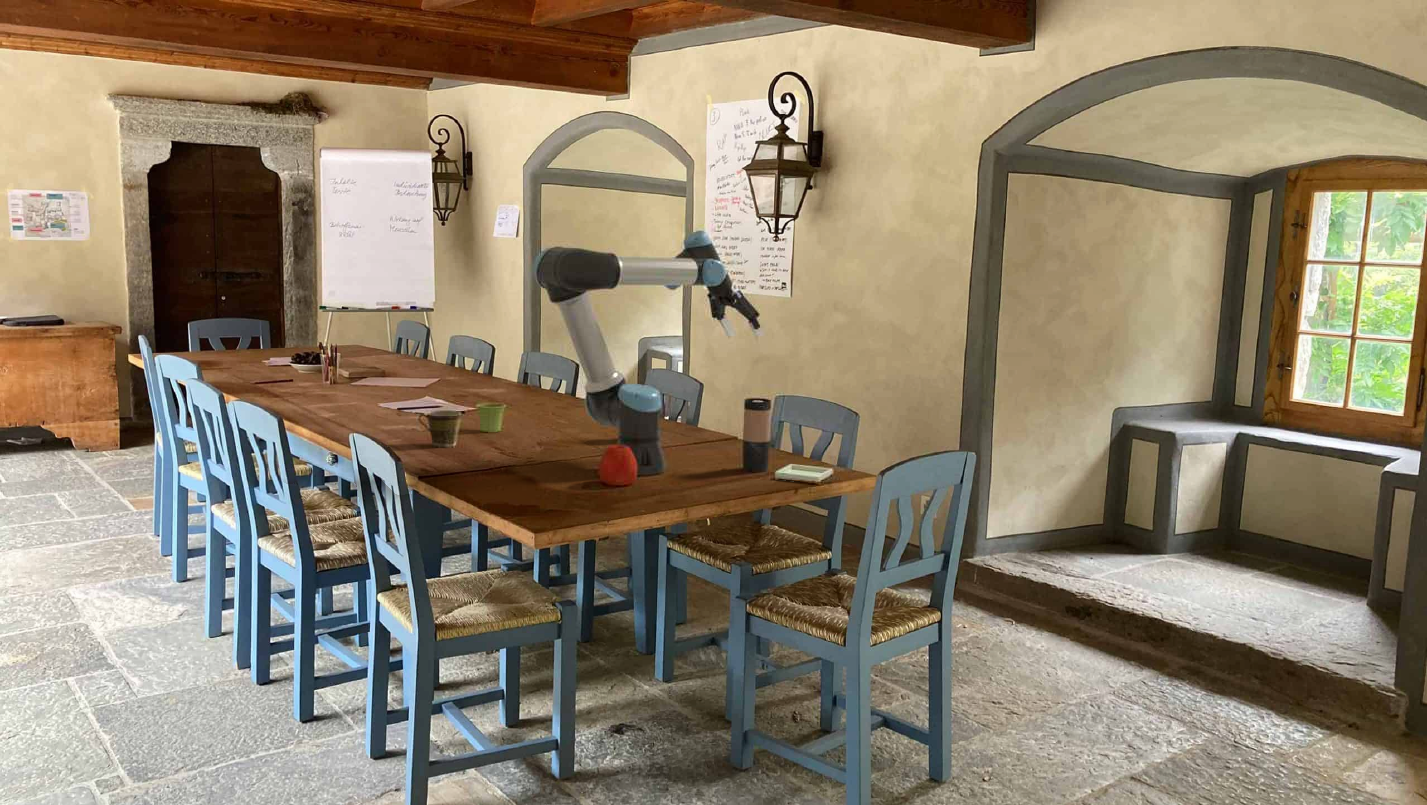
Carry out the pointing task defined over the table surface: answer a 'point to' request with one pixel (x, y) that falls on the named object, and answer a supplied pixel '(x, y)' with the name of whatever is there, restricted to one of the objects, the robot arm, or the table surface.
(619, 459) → the apple
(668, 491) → the table surface
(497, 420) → the plant pot
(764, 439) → the travel mug
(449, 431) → the ceramic cup
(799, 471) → the holder tray
